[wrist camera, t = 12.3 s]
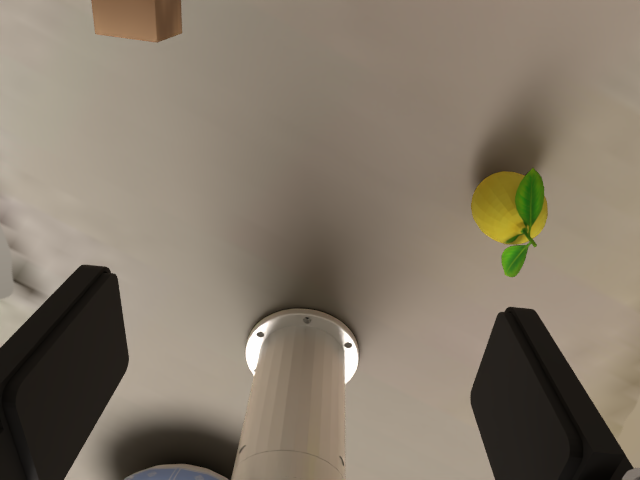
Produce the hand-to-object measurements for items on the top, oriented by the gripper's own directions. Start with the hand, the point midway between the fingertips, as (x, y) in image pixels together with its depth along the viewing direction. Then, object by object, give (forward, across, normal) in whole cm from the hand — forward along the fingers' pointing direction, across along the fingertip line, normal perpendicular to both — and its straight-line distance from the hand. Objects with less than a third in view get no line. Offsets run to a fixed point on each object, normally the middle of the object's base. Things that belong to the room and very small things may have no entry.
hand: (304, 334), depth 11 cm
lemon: (+30, -16, +6) cm, 34 cm away
